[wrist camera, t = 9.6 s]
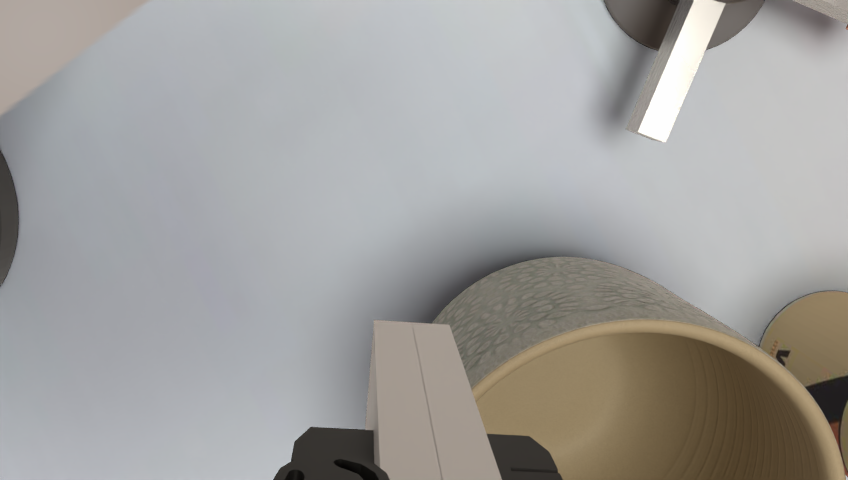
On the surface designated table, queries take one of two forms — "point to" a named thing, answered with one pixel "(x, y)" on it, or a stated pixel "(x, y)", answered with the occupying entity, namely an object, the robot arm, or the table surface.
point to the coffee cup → (816, 354)
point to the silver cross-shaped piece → (690, 61)
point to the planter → (631, 379)
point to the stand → (651, 16)
